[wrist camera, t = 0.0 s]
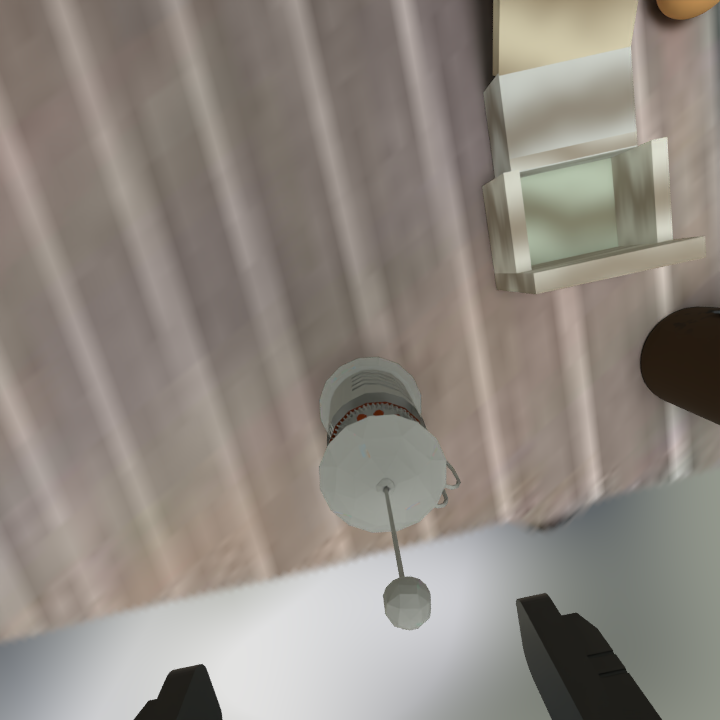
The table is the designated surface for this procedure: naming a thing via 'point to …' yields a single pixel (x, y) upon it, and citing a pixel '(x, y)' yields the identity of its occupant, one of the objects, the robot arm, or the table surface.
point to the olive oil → (686, 361)
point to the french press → (382, 465)
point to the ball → (685, 8)
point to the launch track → (572, 151)
